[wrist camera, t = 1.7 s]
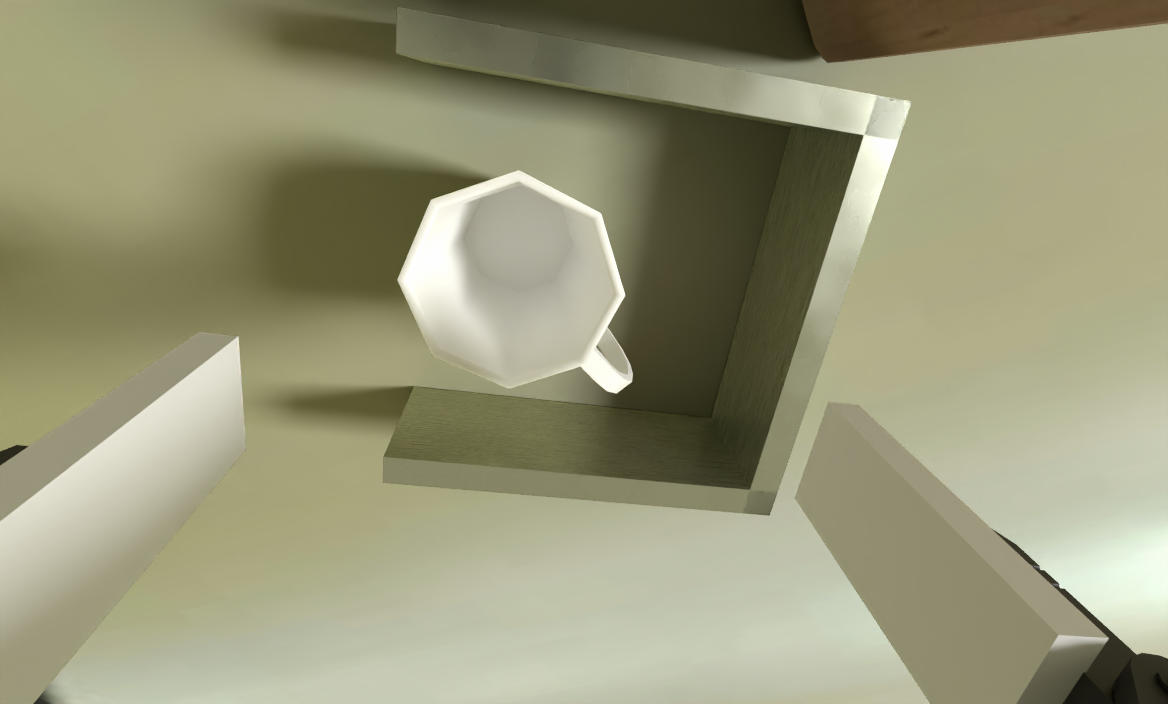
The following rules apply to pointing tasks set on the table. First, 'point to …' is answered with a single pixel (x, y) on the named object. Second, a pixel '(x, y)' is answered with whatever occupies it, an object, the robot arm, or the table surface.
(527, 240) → the cup
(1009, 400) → the table surface
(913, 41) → the wooden block
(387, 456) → the bay
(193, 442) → the robot arm
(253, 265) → the table surface
